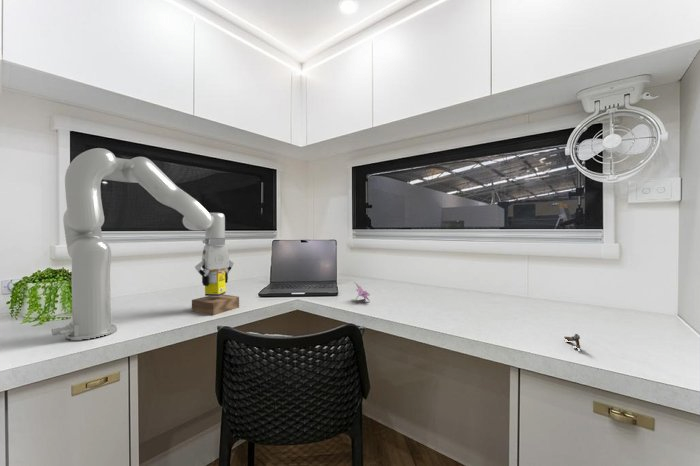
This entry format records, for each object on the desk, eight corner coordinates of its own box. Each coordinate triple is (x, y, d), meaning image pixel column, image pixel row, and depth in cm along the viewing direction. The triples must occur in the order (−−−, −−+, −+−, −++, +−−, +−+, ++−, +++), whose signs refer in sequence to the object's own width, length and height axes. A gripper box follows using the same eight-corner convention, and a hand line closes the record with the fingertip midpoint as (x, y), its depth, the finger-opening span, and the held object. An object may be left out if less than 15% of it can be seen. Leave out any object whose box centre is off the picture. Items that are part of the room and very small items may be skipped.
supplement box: (225, 293, 132) (225, 267, 132) (218, 296, 126) (218, 269, 126) (212, 292, 133) (212, 267, 132) (204, 295, 127) (204, 269, 126)
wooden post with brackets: (576, 350, 86) (574, 333, 87) (565, 351, 93) (563, 335, 95) (584, 351, 85) (582, 333, 87) (573, 352, 92) (571, 336, 94)
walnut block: (213, 316, 121) (213, 303, 121) (191, 311, 127) (191, 299, 127) (239, 308, 132) (239, 296, 132) (218, 304, 138) (218, 293, 138)
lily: (369, 307, 136) (376, 289, 139) (347, 298, 137) (354, 279, 139) (366, 309, 147) (373, 291, 149) (345, 299, 147) (352, 282, 150)
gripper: (199, 243, 120) (199, 288, 120) (238, 241, 134) (238, 282, 134) (189, 242, 124) (190, 286, 124) (228, 241, 138) (228, 280, 138)
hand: (215, 283), depth 129 cm, fingers closed on supplement box, 8 cm apart
